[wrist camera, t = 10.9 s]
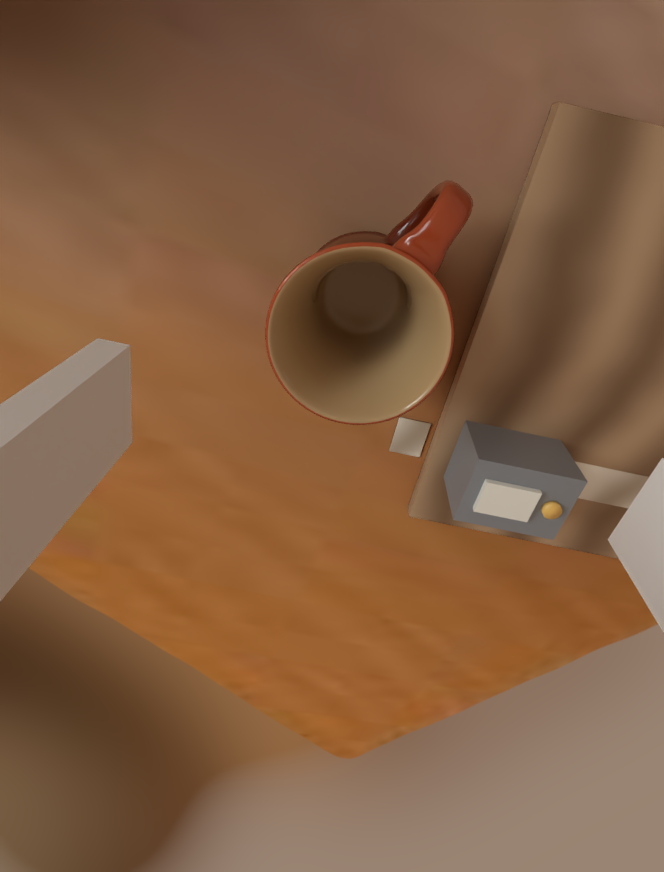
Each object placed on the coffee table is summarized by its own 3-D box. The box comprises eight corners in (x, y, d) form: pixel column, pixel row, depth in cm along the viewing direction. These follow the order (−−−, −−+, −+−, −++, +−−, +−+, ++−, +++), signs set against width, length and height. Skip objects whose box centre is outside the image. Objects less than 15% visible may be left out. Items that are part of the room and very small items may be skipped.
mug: (375, 376, 34) (375, 454, 25) (270, 303, 32) (231, 362, 23) (498, 226, 29) (553, 260, 20) (381, 127, 27) (385, 116, 18)
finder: (443, 476, 37) (453, 523, 32) (465, 420, 34) (480, 462, 29) (532, 494, 37) (555, 544, 32) (560, 440, 34) (590, 485, 30)
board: (373, 500, 40) (373, 509, 39) (499, 91, 25) (505, 88, 24) (639, 553, 41) (646, 565, 40) (906, 187, 26) (929, 189, 25)
